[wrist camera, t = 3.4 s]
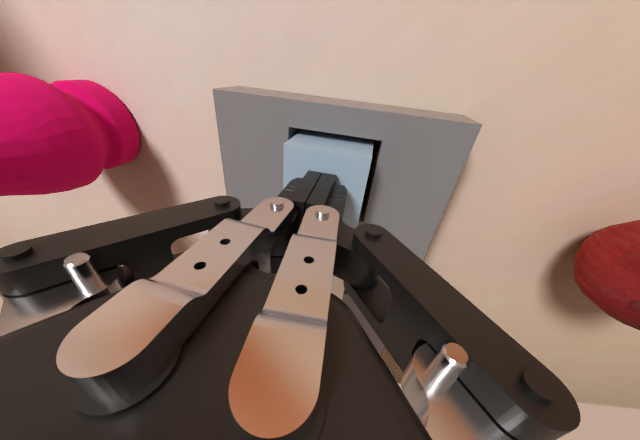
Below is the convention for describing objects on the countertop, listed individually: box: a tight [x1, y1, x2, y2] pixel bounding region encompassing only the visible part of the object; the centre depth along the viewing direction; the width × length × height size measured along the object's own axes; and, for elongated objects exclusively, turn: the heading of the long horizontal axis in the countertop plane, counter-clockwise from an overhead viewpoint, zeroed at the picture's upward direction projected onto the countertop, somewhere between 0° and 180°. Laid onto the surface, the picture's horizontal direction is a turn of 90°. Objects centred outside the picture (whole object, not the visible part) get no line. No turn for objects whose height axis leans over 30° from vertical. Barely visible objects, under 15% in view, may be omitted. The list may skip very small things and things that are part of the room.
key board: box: [213, 86, 482, 356], centre depth 19 cm, size 14×22×3 cm, turn 174°
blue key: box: [283, 129, 374, 229], centre depth 15 cm, size 4×4×4 cm
